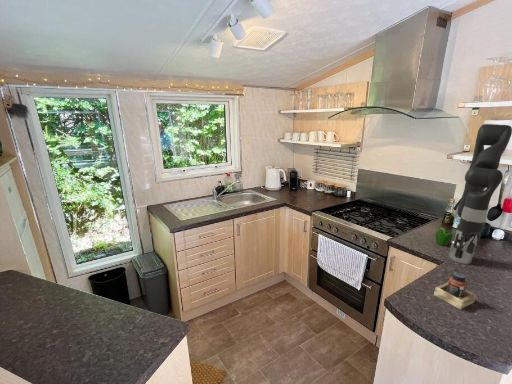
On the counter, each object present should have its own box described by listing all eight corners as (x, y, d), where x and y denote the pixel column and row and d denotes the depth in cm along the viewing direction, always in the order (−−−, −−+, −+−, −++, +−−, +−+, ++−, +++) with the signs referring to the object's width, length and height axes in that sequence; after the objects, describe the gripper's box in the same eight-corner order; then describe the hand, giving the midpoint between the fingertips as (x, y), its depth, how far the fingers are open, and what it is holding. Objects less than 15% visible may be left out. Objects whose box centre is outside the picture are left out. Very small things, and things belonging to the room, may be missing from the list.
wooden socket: (433, 294, 113) (435, 287, 112) (447, 288, 118) (449, 281, 117) (460, 309, 104) (462, 302, 103) (474, 302, 109) (476, 295, 108)
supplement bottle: (463, 304, 107) (469, 280, 104) (445, 299, 110) (451, 276, 107) (461, 296, 112) (467, 273, 109) (444, 292, 115) (450, 269, 112)
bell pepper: (453, 247, 158) (457, 231, 155) (440, 246, 158) (443, 231, 156) (444, 241, 166) (447, 226, 164) (431, 240, 166) (434, 226, 164)
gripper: (471, 212, 109) (462, 247, 113) (452, 218, 102) (444, 254, 107) (493, 218, 102) (483, 255, 106) (474, 224, 96) (464, 263, 100)
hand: (463, 255), depth 107 cm, fingers open, 8 cm apart
